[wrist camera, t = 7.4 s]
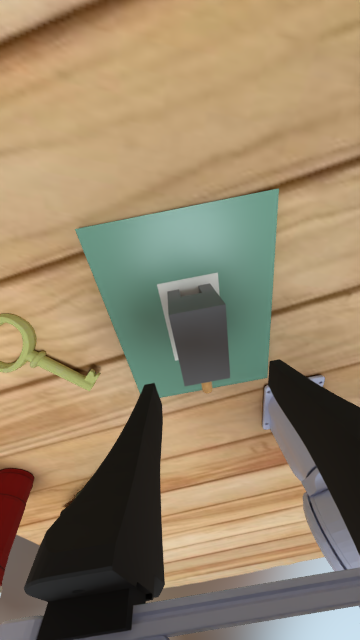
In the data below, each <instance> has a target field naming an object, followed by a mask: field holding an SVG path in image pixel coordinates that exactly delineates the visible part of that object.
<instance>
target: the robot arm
mask: <svg viewBox="0 0 360 640" xmlns="http://www.w3.org/2000/svg"><path fill="white" fill-rule="evenodd" d="M324 380H325V378H324V377H323V376H322V375H319V376H313V377H308V378H307V377H305V376H304V375H302V374H301V373H299V372H298V371H296V370H295V369H293V368H292V367H290V366H289V365H287V364H286V363H284V362H283V361H281V360H280V359H279V360H274V361H270V365H269V380H268V385H266V386H265V388H264V405H263V423H262V427H263V429H265V430H267V429H270V430H271V431H272V433H273V435H274V437H275V439H276V441H277V443H278V445H279V447H280V449H281V451H282V453H283V455H284V457H285V459H286V461H287V462H288V464H289V466H290V468H291V470H292V471H293V473H294V474H295V476H296V477H297V478H298V479H299V480H300V481H301V482H302V484H303V486H304V488H305V490H306V492H305V493H304V494H303V509H304V513H305V517H306V520H307V522H308V525H309V527H310V529H311V532H312V534H313V536H314V538H315V540H316V542H317V544H318V546H319V547H320V549H321V551H322V553H323V554H324V556H325V558H326V559H327V561H328V562H329V564H330V565H331V567H332V568H333V570H334V571H335V572H330V573H323V574H317V575H312V576H305V577H299V578H293V579H288V580H282V581H276V582H270V583H264V584H258V585H252V586H246V587H241V588H235V589H229V590H223V591H217V592H211V593H205V594H199V595H193V596H187V597H181V598H175V599H169V600H163V601H157V602H151V603H145V602H146V601H149V600H153V598H154V597H158V596H159V595H160V593H161V591H162V589H163V587H164V585H165V581H164V564H163V546H162V524H161V495H160V459H161V442H162V425H163V417H162V403H161V400H160V397H159V394H158V391H157V388H156V385H155V383H151V384H145V385H144V387H143V389H142V392H141V394H140V397H139V399H138V401H137V403H136V405H135V408H134V410H133V412H132V414H131V416H130V418H129V420H128V422H127V423H126V425H125V427H124V429H123V431H122V432H121V434H120V436H119V438H118V439H117V441H116V443H115V444H114V446H113V447H112V449H111V451H110V452H109V454H108V455H107V457H106V458H105V459H104V461H103V462H102V464H101V465H100V467H99V468H98V469H97V471H96V472H95V474H94V475H93V476H92V478H91V479H90V480H89V481H88V483H87V484H86V485H85V487H84V488H83V489H82V490H81V492H80V493H79V494H78V495H77V497H76V498H75V499H74V500H73V502H72V503H71V504H70V505H69V506H68V507H67V509H66V510H65V511H64V512H63V513H62V514H61V516H60V517H59V518H58V519H57V520H56V521H55V522H54V524H53V525H52V526H51V527H50V528H49V529H48V530H47V532H46V534H45V536H44V538H43V541H42V543H41V545H40V548H39V550H38V553H37V555H36V558H35V560H34V563H33V566H32V568H31V571H30V573H29V576H28V579H27V581H26V585H25V587H24V590H25V592H26V594H28V595H30V596H32V597H35V598H38V599H41V600H44V601H47V602H48V604H47V608H46V611H45V614H44V616H31V617H25V618H19V619H13V620H8V621H4V622H3V623H2V624H1V625H0V640H169V638H167V637H172V636H178V635H184V634H190V633H196V632H202V631H208V630H214V629H220V628H226V627H233V626H238V625H245V624H250V623H257V622H262V621H269V620H275V619H281V618H287V617H293V616H298V615H305V614H311V613H317V612H322V611H329V610H335V609H341V608H346V607H353V606H359V607H360V407H358V406H356V405H354V404H352V403H350V402H348V401H346V400H344V399H343V398H341V397H339V396H337V395H335V394H334V393H332V392H330V391H328V390H327V389H325V388H323V384H324Z"/></svg>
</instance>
